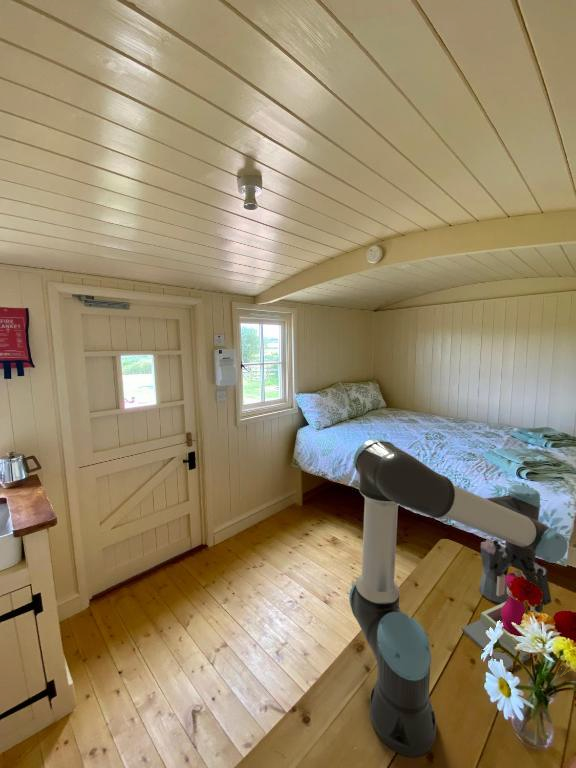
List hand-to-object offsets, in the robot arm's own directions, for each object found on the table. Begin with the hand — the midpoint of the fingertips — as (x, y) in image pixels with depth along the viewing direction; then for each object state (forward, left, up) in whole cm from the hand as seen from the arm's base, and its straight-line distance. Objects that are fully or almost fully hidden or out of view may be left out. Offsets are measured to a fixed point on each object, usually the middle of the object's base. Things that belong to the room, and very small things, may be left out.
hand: (516, 606), depth 99 cm
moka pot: (+9, +13, -10) cm, 18 cm away
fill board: (-4, 0, -9) cm, 10 cm away
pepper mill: (0, 0, -9) cm, 9 cm away
